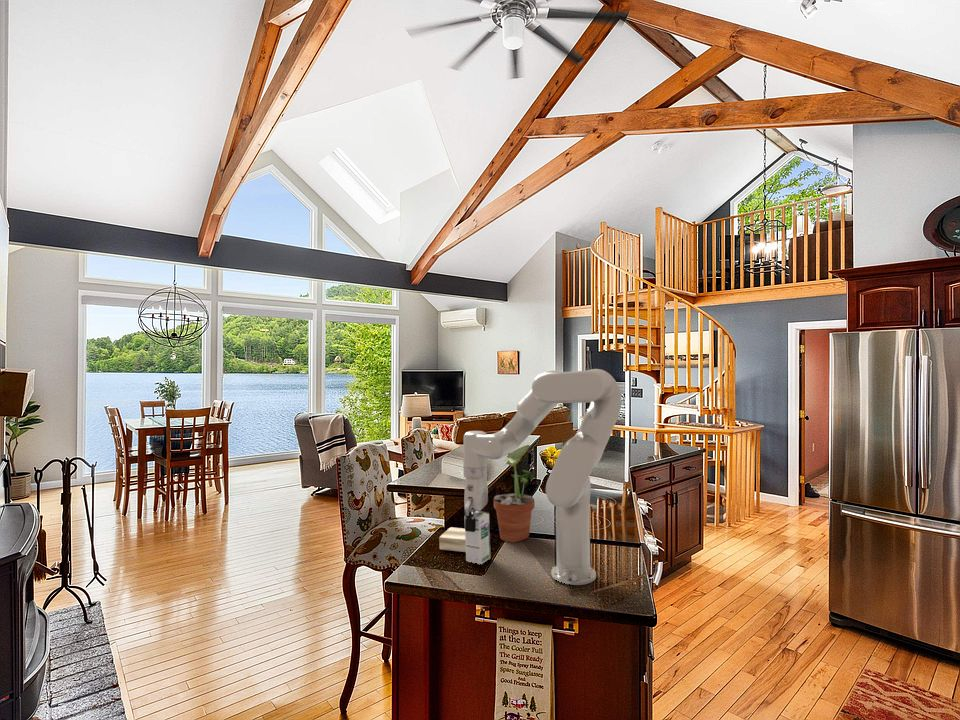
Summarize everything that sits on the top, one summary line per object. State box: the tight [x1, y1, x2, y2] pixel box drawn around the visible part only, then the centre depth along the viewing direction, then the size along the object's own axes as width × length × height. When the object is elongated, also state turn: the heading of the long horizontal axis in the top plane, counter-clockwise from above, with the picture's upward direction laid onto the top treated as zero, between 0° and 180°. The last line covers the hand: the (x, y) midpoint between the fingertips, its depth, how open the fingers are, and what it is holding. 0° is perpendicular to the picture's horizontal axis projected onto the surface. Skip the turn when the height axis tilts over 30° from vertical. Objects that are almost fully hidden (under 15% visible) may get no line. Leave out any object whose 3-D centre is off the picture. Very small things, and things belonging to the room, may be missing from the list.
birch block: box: [438, 526, 466, 553], centre depth 175 cm, size 10×10×4 cm
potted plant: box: [493, 444, 535, 543], centre depth 182 cm, size 16×15×35 cm
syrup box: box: [463, 511, 492, 566], centre depth 162 cm, size 6×6×14 cm
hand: (475, 525), depth 162 cm, fingers open, 9 cm apart
